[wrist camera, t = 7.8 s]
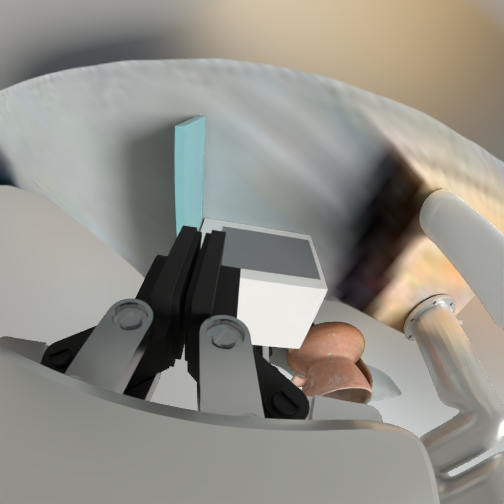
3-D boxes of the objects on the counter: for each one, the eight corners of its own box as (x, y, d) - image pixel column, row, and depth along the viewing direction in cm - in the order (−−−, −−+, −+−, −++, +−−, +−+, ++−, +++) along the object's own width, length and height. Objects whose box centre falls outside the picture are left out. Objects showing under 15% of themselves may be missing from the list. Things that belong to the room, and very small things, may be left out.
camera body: (310, 235, 36) (329, 294, 26) (291, 291, 41) (300, 353, 32) (193, 216, 35) (169, 271, 25) (189, 276, 40) (171, 337, 30)
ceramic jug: (265, 349, 50) (267, 417, 38) (308, 300, 42) (324, 378, 31) (336, 366, 54) (348, 423, 43) (382, 326, 47) (405, 388, 35)
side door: (194, 115, 27) (168, 126, 19) (205, 115, 27) (184, 126, 19) (192, 223, 34) (174, 267, 26) (202, 223, 34) (186, 269, 26)
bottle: (432, 180, 31) (585, 339, 6) (463, 197, 32) (591, 336, 7) (409, 228, 35) (524, 406, 10) (442, 240, 36) (544, 392, 11)
